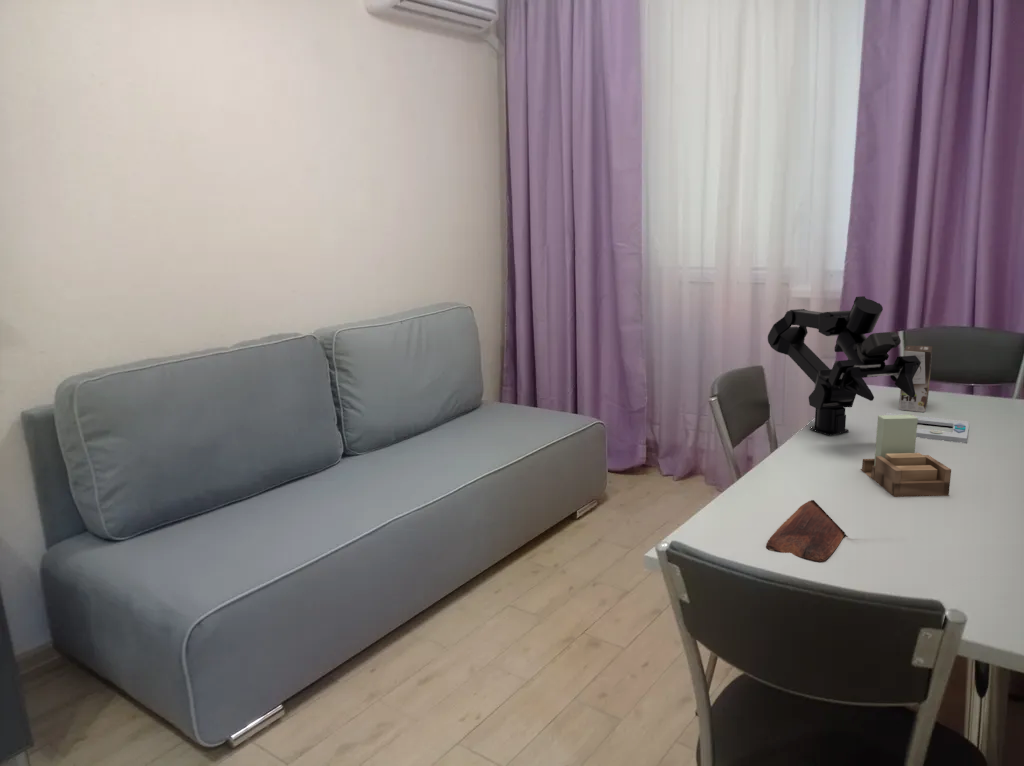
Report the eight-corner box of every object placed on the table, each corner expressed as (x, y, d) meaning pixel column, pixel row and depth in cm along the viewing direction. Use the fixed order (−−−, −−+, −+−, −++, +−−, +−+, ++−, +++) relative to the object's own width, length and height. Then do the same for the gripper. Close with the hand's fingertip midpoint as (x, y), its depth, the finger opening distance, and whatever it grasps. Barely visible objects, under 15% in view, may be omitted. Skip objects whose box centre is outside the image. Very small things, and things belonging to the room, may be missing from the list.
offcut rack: (859, 473, 153) (861, 445, 152) (909, 472, 153) (911, 444, 151) (894, 501, 138) (896, 471, 137) (948, 500, 138) (952, 470, 137)
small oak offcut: (893, 488, 142) (895, 466, 141) (928, 487, 142) (930, 465, 141) (899, 493, 140) (901, 470, 139) (935, 492, 140) (937, 469, 139)
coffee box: (925, 412, 194) (931, 351, 190) (898, 409, 197) (903, 350, 194) (928, 404, 202) (933, 345, 198) (901, 401, 205) (906, 344, 201)
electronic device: (969, 419, 181) (967, 436, 169) (968, 428, 182) (966, 446, 170) (886, 411, 191) (878, 426, 179) (885, 419, 191) (877, 435, 179)
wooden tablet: (808, 492, 142) (864, 496, 136) (809, 503, 143) (865, 508, 136) (761, 544, 122) (825, 552, 116) (762, 557, 122) (826, 566, 116)
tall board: (873, 472, 151) (878, 415, 148) (906, 471, 150) (911, 414, 148) (879, 477, 148) (883, 419, 145) (912, 476, 148) (917, 418, 145)
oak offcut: (883, 480, 146) (885, 453, 145) (916, 479, 146) (919, 452, 145) (889, 484, 144) (891, 457, 143) (923, 484, 144) (926, 457, 142)
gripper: (830, 324, 161) (864, 372, 150) (911, 318, 163) (950, 365, 152) (815, 362, 169) (846, 411, 157) (892, 357, 171) (928, 404, 159)
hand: (893, 397), depth 156 cm, fingers open, 9 cm apart
